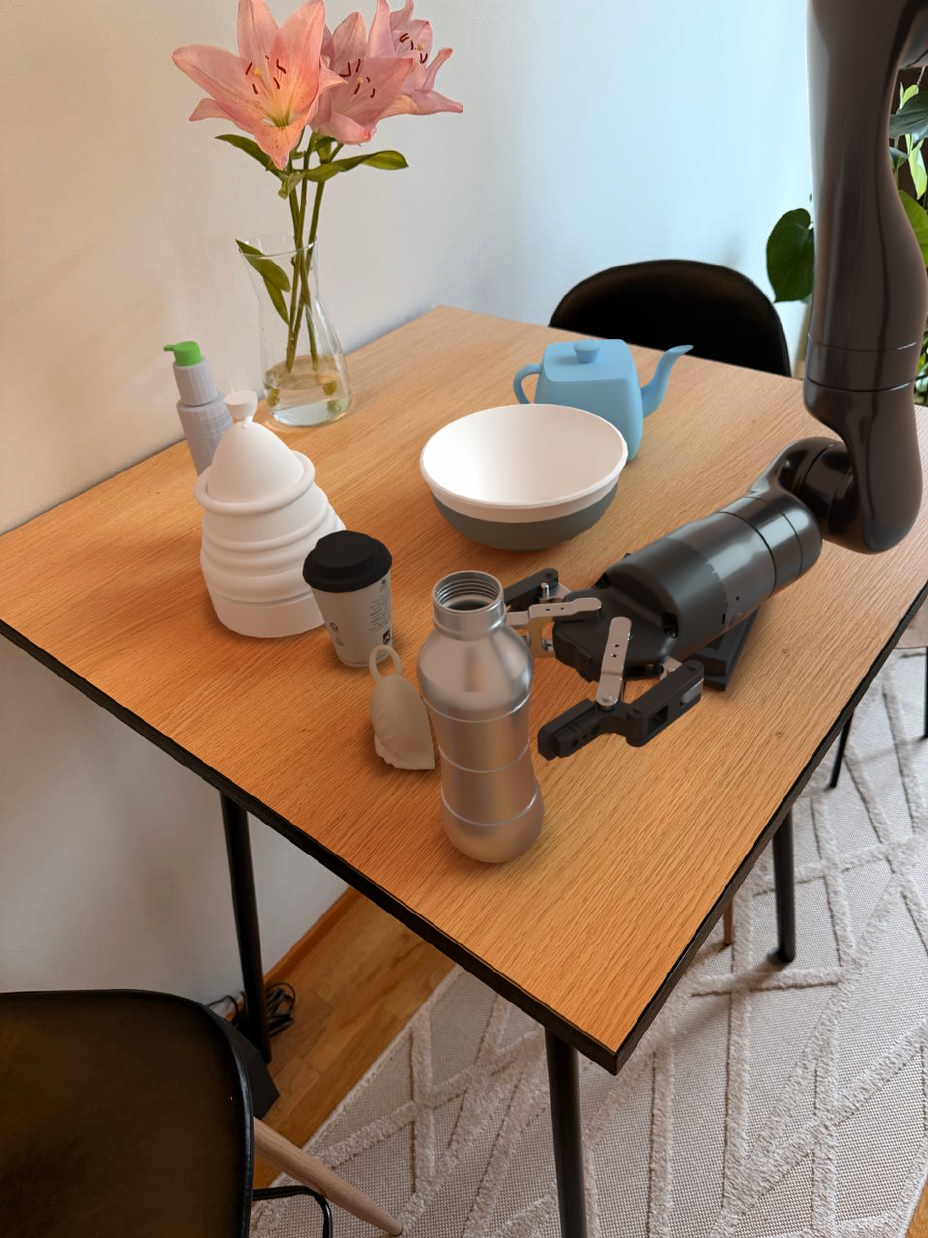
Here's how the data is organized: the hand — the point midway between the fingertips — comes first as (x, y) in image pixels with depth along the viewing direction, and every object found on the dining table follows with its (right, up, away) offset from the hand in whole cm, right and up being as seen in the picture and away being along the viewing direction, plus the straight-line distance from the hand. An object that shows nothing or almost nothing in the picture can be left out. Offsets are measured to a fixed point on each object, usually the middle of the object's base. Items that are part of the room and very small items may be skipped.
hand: (493, 706), depth 53 cm
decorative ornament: (-6, -4, +14) cm, 16 cm away
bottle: (-23, +12, +36) cm, 45 cm away
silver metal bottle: (0, -9, +7) cm, 11 cm away
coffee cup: (-10, +2, +22) cm, 24 cm away
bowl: (+4, +14, +34) cm, 37 cm away
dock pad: (+15, +5, +21) cm, 26 cm away
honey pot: (-18, +7, +29) cm, 35 cm away
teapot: (+13, +24, +45) cm, 52 cm away
